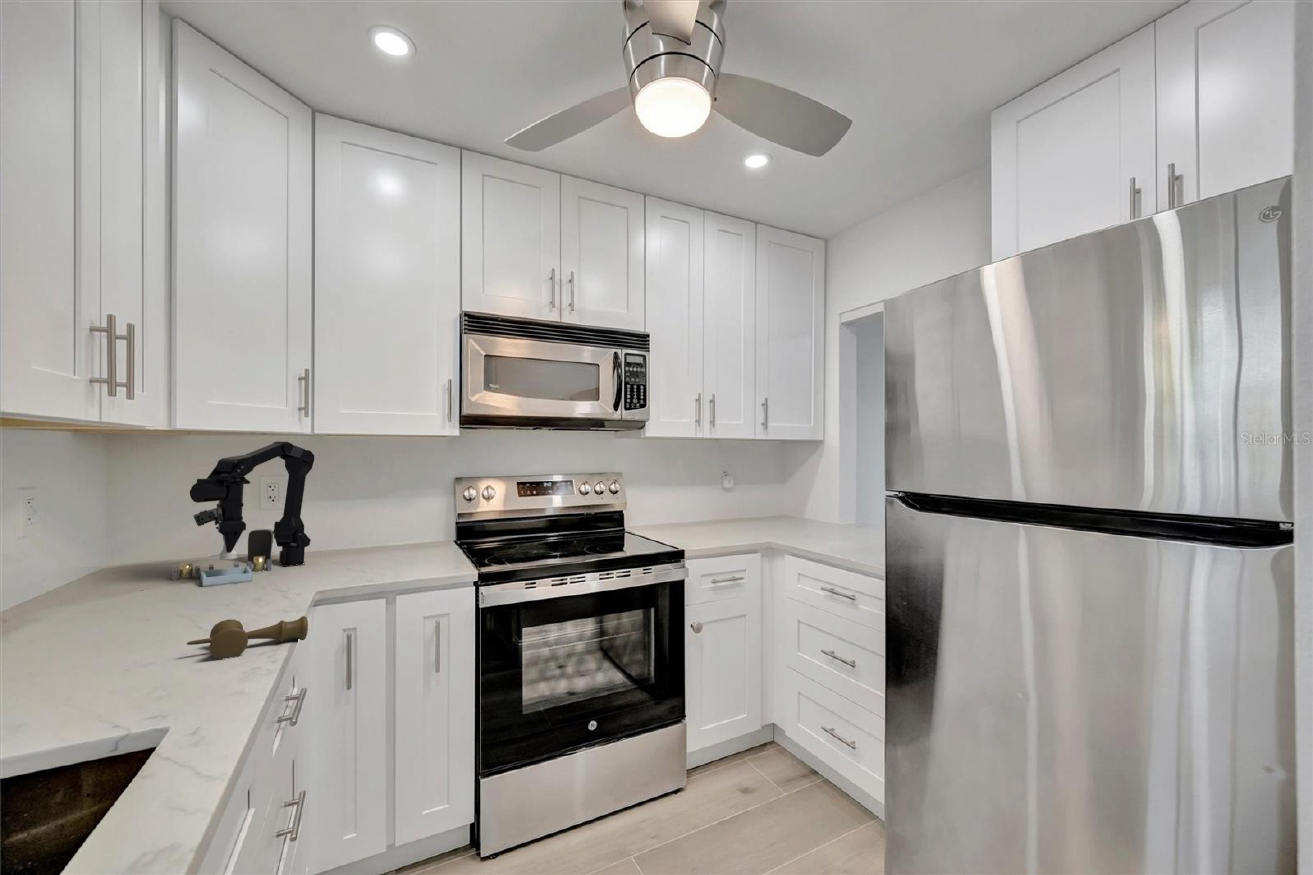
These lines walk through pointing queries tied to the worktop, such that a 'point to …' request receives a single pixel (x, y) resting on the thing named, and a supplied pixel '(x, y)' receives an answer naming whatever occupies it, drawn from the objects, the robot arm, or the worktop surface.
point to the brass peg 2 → (259, 563)
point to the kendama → (249, 636)
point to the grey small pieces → (211, 567)
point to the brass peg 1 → (186, 570)
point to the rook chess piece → (226, 555)
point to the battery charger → (260, 544)
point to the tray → (226, 576)
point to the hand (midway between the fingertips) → (228, 551)
